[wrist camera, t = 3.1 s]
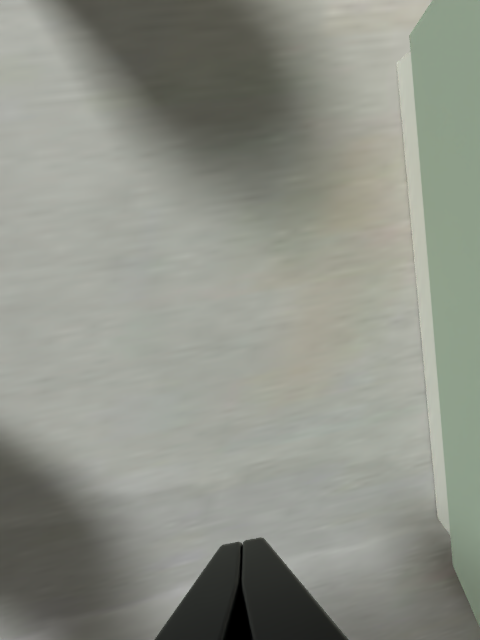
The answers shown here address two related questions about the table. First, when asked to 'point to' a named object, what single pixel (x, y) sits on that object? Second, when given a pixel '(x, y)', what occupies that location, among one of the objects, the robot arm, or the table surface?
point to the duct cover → (454, 253)
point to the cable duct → (422, 280)
